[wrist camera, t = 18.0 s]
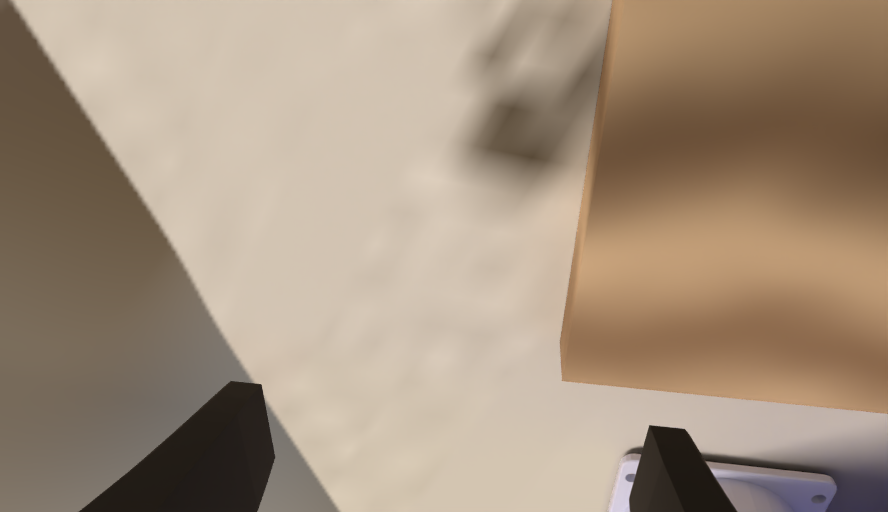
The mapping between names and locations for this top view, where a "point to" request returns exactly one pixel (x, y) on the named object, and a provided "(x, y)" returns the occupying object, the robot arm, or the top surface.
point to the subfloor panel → (737, 204)
